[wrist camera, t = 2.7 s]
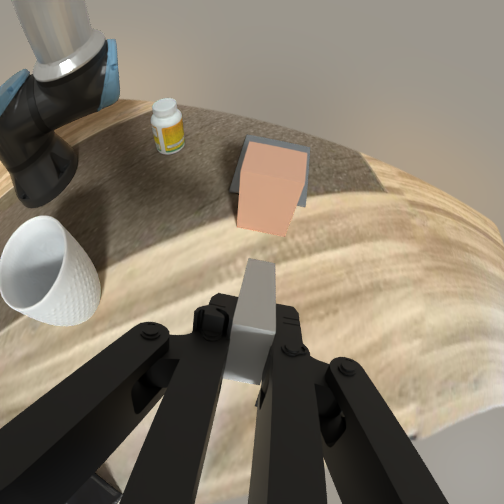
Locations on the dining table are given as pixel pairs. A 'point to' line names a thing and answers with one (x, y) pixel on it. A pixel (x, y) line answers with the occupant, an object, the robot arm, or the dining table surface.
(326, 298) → the dining table surface
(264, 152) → the terracotta block
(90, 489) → the small box
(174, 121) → the supplement bottle
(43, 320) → the mug
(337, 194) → the dining table surface
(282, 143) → the mat
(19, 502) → the robot arm
